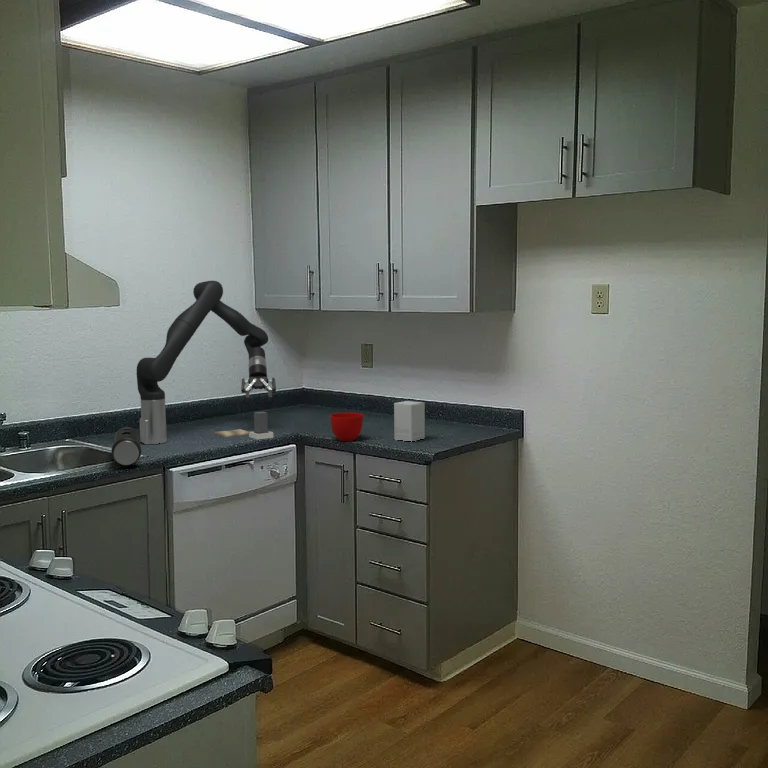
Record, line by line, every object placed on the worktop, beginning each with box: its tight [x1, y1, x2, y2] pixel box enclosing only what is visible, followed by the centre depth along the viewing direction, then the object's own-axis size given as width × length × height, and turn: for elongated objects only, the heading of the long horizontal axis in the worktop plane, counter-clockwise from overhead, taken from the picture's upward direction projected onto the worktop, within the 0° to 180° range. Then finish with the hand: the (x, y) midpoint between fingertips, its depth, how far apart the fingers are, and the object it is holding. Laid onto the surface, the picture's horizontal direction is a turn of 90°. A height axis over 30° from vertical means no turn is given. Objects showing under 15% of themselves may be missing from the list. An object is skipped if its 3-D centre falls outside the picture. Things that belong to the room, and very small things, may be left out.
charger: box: [253, 411, 269, 434], centre depth 327 cm, size 4×4×10 cm
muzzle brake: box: [111, 426, 142, 467], centre depth 285 cm, size 10×28×10 cm, turn 17°
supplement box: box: [393, 400, 426, 443], centre depth 322 cm, size 9×9×15 cm
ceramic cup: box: [329, 412, 364, 442], centre depth 325 cm, size 13×17×10 cm
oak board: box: [213, 428, 250, 438], centre depth 336 cm, size 12×10×1 cm
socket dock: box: [248, 430, 274, 440], centre depth 328 cm, size 7×7×3 cm
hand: (259, 399), depth 337 cm, fingers open, 8 cm apart
